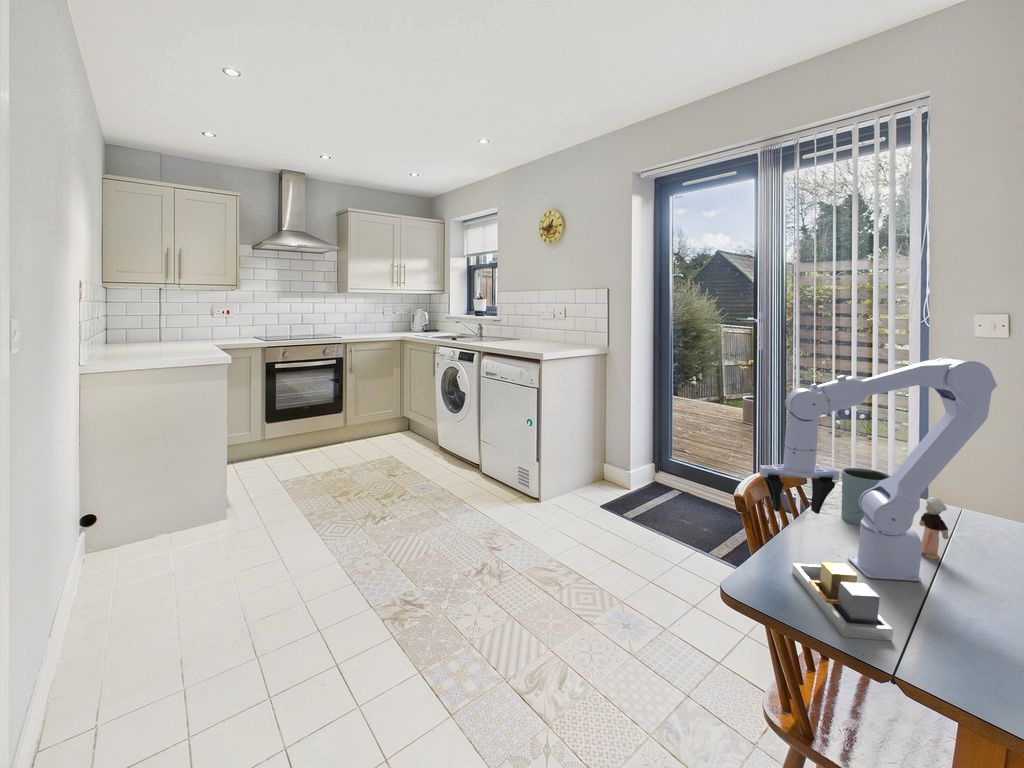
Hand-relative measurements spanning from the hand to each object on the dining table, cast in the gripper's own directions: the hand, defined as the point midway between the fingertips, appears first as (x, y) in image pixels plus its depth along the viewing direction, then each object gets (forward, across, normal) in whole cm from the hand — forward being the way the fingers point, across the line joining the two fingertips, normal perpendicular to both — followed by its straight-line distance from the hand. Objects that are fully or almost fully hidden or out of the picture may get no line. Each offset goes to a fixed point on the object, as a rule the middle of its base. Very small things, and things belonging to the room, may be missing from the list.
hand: (795, 510), depth 103 cm
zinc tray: (+10, +1, -16) cm, 20 cm away
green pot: (+10, +25, +23) cm, 36 cm away
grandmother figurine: (+10, +29, +5) cm, 31 cm away
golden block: (+10, +1, -16) cm, 19 cm away
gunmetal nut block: (+10, +1, -23) cm, 25 cm away
